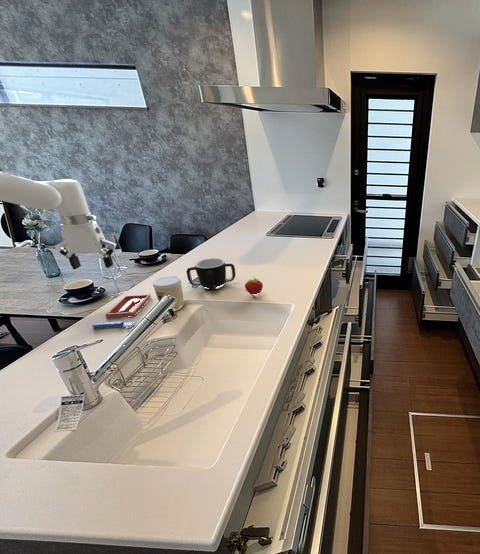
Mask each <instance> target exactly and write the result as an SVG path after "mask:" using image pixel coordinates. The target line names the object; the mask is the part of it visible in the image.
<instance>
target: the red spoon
mask: <svg viewBox="0 0 480 554" xmlns="http://www.w3.org/2000/svg"><path fill="white" fill-rule="evenodd" d="M139 302H140V299H138V298H136V299H132V300H130V301H129V302H128V303H127V304H126V305H124V306H123V307H122V308H121V309H120V310H119V313H124V312H128V311H129V310H130V309H131V308H132V307H133V305H134V304H137V303H139Z"/></svg>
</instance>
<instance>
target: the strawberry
mask: <svg viewBox="0 0 480 554" xmlns="http://www.w3.org/2000/svg"><path fill="white" fill-rule="evenodd" d="M244 288H245V291H246V292H247V293H248V294H249V295H251V294H257V293H259V294H260V293H261V292H262V290H263V288H264V285H263V282H262V281H261V280H259V279H258V278H257V277H253V279H248V280H247V281H246V282H245V284H244Z"/></svg>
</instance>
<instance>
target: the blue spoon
mask: <svg viewBox="0 0 480 554" xmlns="http://www.w3.org/2000/svg"><path fill="white" fill-rule="evenodd" d="M133 324H135V321H126V322H124V321H123V320H122V321H121V320H119V321H107V322H94V323H93V324H92V325H91V326H92V329H93V330H95V331H97V330H108V329H119V328H118V327H122V329H123V328H126V327H130V326H132V325H133Z"/></svg>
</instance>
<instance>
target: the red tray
mask: <svg viewBox="0 0 480 554" xmlns="http://www.w3.org/2000/svg"><path fill="white" fill-rule="evenodd" d="M150 297H151V298H152V296H151V294H134V295H133V294H132V295H125V296H123V297H122V298H121V299H120V300H119V301H117V303H115V305H114V306H112V308H110V309H109V310H108V311H107V312H106V313H105V314H104V316H105V318H106V319H107V320H113V319H122V318H121V317H127V318H129V317H128V316H135V314H136V313H137V312H138V311H139V310H140V309H141V308H142V306H144V304H145V303H146V302H147V301H148V300H149V299H150ZM136 298H138V299H142V298H145V299H144V300H143V301H142V302H141V303H140V304H139V305H138V306H137V308H136V309H135V310H134V311H133V312H129V311H128V312H124V313H119V310H120V309H121V308H122V307H123V306H124V305H126V304H127V303H128V302H129V301H130V300H132V299H136ZM150 300H151V299H150ZM133 306H135V304H134V305H133ZM144 307H145V306H144ZM142 310H143V308H142V309H141V311H142ZM135 317H136V316H135ZM127 318H126V319H127Z"/></svg>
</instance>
